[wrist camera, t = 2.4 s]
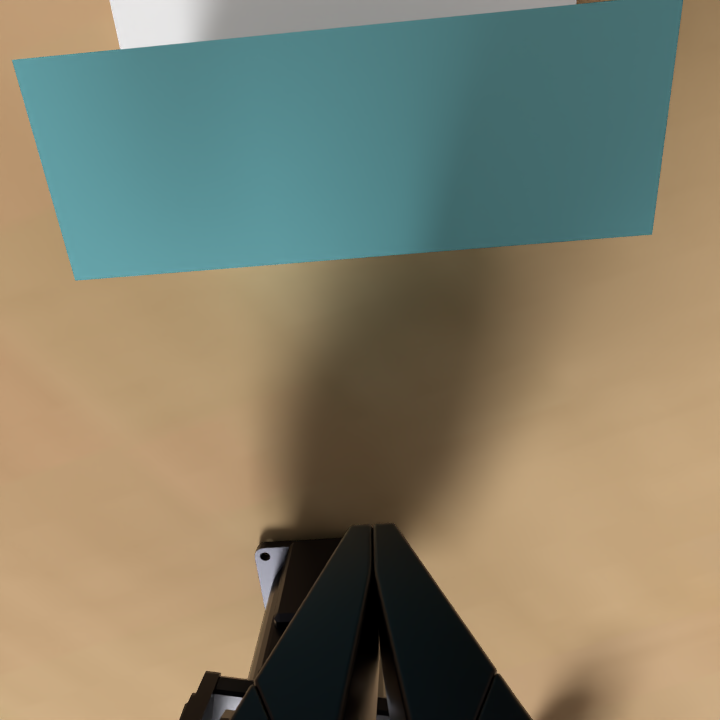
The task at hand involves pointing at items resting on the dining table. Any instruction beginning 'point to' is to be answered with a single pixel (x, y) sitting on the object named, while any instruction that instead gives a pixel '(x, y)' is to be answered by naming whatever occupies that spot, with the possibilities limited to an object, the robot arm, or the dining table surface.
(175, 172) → the teal block
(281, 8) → the mat
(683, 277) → the dining table surface
